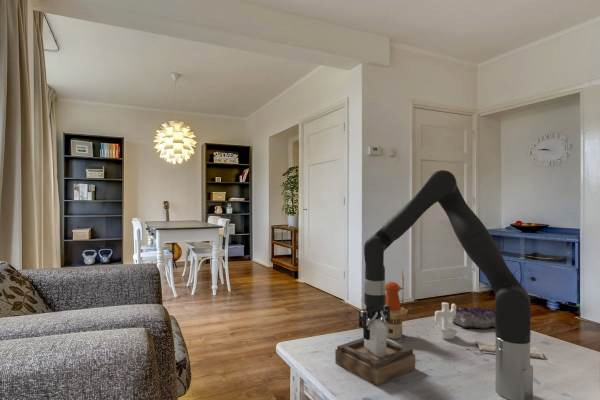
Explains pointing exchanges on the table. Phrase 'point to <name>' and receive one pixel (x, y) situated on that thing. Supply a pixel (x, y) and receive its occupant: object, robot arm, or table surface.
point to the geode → (474, 318)
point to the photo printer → (377, 339)
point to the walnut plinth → (372, 372)
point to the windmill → (395, 310)
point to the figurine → (445, 321)
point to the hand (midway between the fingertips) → (374, 336)
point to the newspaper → (492, 348)
